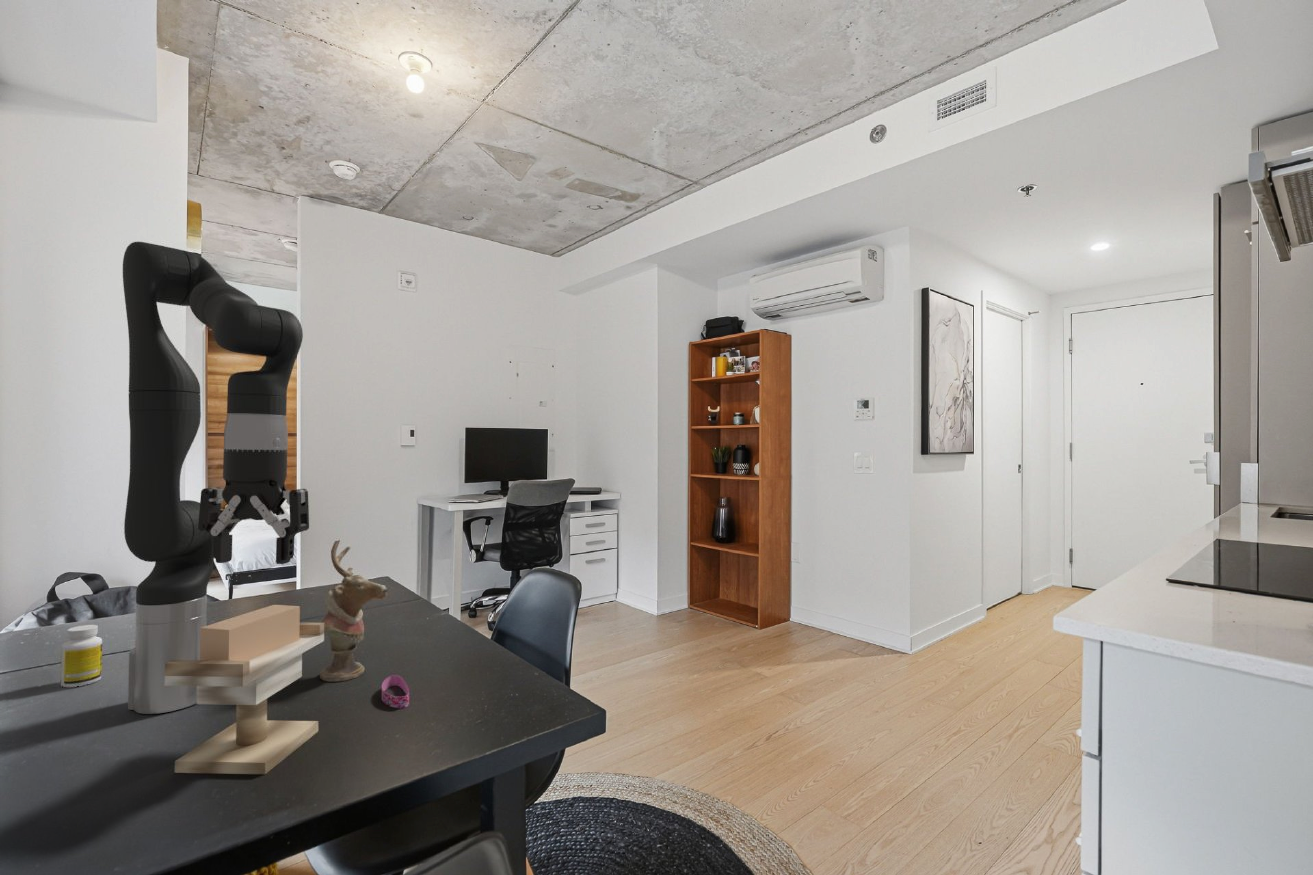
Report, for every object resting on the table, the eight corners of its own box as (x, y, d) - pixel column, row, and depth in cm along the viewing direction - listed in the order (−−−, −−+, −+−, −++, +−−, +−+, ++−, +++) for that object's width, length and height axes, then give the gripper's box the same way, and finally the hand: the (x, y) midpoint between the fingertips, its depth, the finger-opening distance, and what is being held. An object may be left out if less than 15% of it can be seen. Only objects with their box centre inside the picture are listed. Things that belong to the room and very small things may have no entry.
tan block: (199, 665, 81) (200, 627, 81) (273, 637, 92) (273, 604, 92) (228, 668, 80) (229, 629, 80) (299, 639, 92) (299, 606, 92)
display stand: (155, 785, 77) (157, 662, 77) (253, 720, 95) (254, 621, 95) (249, 787, 77) (250, 664, 77) (329, 722, 95) (330, 622, 95)
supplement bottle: (108, 679, 111) (109, 625, 111) (69, 690, 106) (70, 633, 106) (92, 674, 114) (93, 621, 114) (54, 685, 109) (55, 629, 109)
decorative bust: (401, 668, 114) (380, 535, 114) (324, 692, 107) (302, 550, 107) (390, 656, 123) (371, 533, 124) (318, 678, 116) (299, 547, 117)
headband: (376, 690, 108) (376, 677, 108) (400, 686, 110) (400, 673, 110) (386, 712, 99) (387, 698, 99) (412, 707, 101) (413, 693, 101)
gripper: (321, 448, 90) (318, 559, 90) (226, 446, 90) (223, 556, 90) (289, 448, 82) (286, 569, 82) (185, 446, 83) (182, 566, 82)
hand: (253, 562), depth 86 cm, fingers open, 8 cm apart
